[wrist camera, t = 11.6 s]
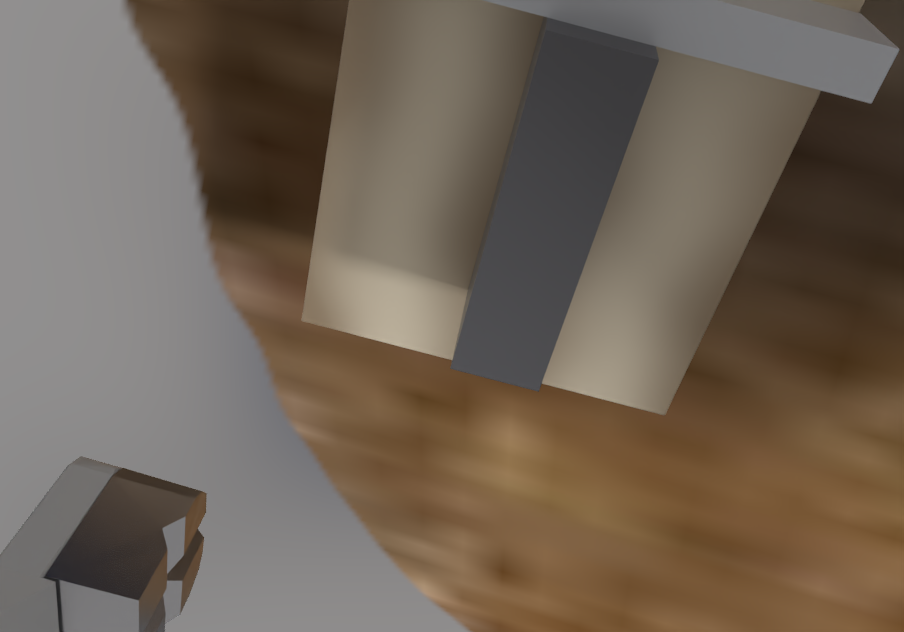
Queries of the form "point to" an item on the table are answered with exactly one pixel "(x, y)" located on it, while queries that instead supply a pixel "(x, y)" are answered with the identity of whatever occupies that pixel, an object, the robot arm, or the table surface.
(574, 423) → the table surface
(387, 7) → the bench plate
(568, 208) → the grey block
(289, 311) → the table surface
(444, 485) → the table surface
